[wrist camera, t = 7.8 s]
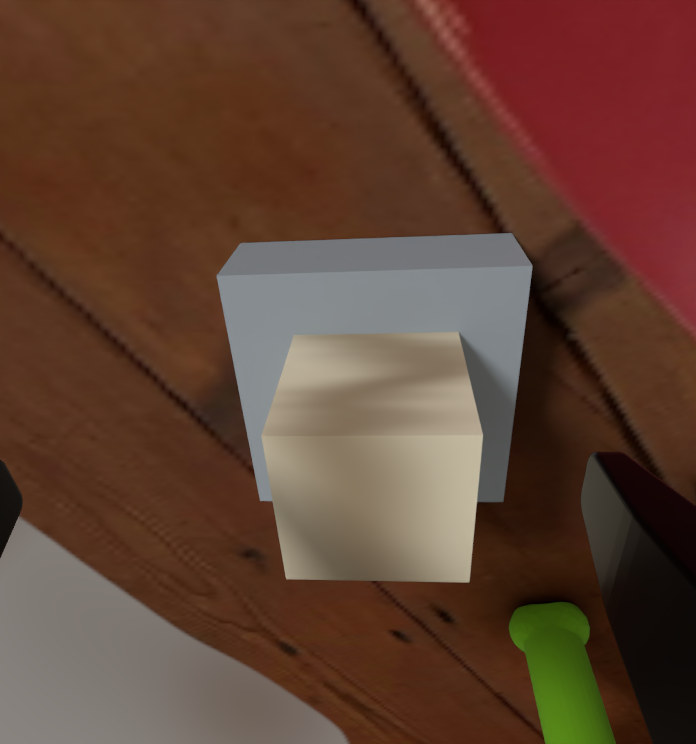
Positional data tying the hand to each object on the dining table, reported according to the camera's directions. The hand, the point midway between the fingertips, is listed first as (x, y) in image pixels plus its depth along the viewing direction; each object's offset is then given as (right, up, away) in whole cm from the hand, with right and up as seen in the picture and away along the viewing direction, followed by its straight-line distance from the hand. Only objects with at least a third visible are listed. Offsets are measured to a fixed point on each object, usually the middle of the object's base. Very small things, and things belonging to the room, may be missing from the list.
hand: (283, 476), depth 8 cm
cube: (+2, +1, +10) cm, 10 cm away
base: (+2, +2, +12) cm, 12 cm away
